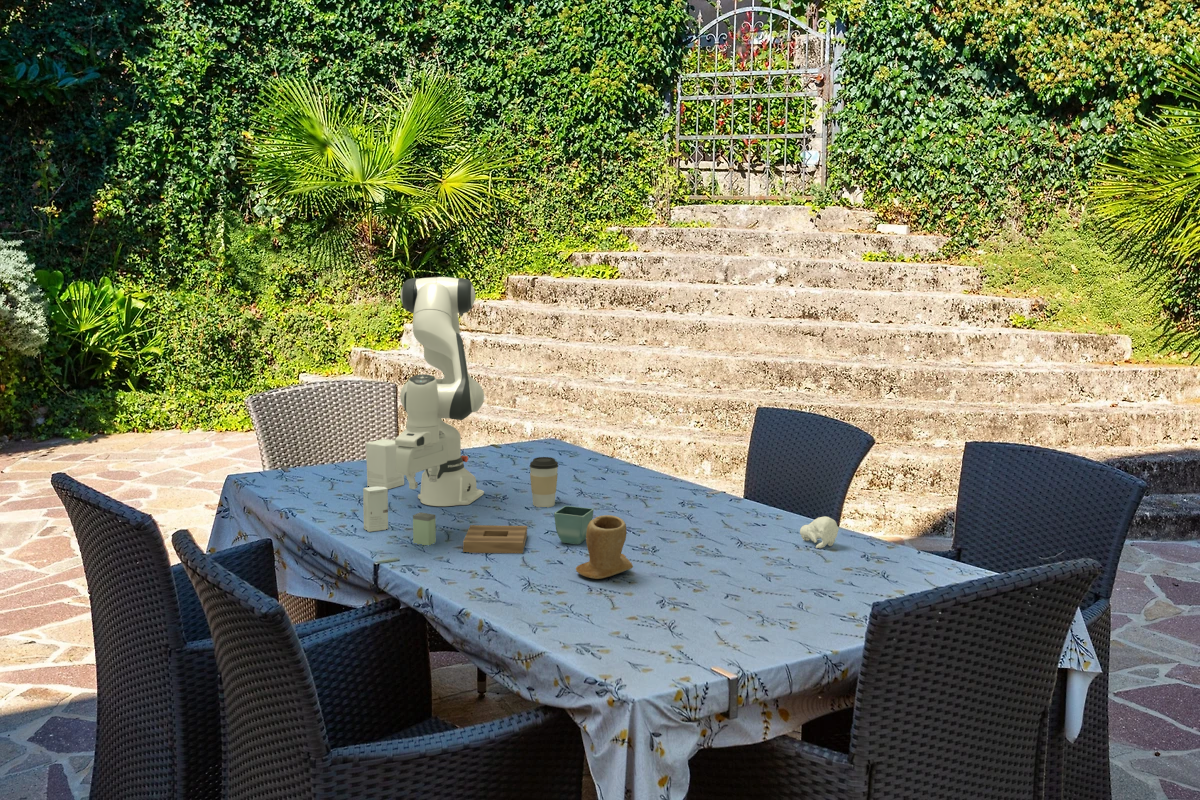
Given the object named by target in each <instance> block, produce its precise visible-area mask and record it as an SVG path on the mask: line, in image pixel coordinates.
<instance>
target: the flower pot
mask: <svg viewBox="0 0 1200 800" xmlns="http://www.w3.org/2000/svg"><path fill="white" fill-rule="evenodd" d="M593 517H594V508H590V507H581V506H572V505H564V506H562V507H561V508H560V509H558V510H556V511H555V512H554V523H555V524H554V526H555V531H556V534H557V537H558V538H559V540H560V541H561V543H563V544H571V545H580V544H581V543H583V542H584V541H586V533H587V526H588V524H589V522H590V521H591V520H593V519H594V518H593Z"/></svg>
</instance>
